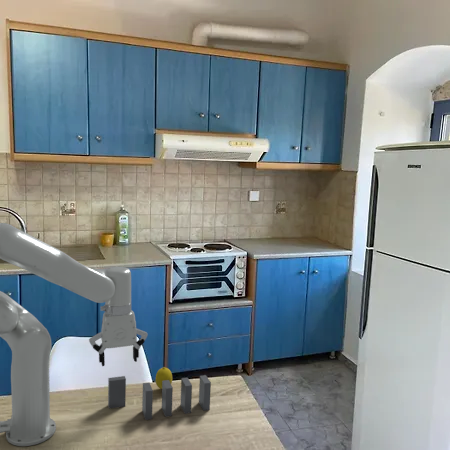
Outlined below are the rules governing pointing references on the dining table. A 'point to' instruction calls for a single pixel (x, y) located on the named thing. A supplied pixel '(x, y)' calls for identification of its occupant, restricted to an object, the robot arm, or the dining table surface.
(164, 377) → the lemon
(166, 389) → the domino
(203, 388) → the domino
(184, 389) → the domino
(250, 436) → the dining table surface
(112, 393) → the domino
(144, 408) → the domino
